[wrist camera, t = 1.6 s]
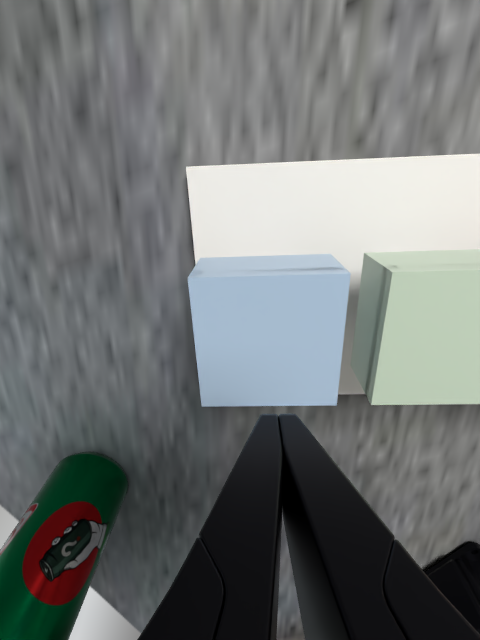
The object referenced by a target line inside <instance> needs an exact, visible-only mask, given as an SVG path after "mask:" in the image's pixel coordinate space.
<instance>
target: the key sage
mask: <svg viewBox="0 0 480 640" xmlns="http://www.w3.org/2000/svg"><path fill="white" fill-rule="evenodd" d="M351 367H352V369H353V371H354V373H355V375H356V377H357V379H358V381H359V383H360V385H361V387H362V388H363V390H364V392H365V394H366V396H367V398H368V400H369V402H370V404H371V405H428V404H480V249H470V250H437V251H405V252H372V253H364V257H363V265H362V273H361V282H360V290H359V298H358V307H357V315H356V323H355V331H354V340H353V348H352V356H351Z"/></svg>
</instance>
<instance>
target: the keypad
mask: <svg viewBox="0 0 480 640" xmlns="http://www.w3.org/2000/svg"><path fill="white" fill-rule="evenodd" d="M186 172H187V182H188V192H189V202H190V213H191V223H192V233H193V243H194V254H195V264H197V262H198V261H199V259H200V258H211V257H243V256H276V255H308V254H331V255H332V256H333V257H334V258H335V259H336V260H337V261H338V262H340V263H341V264H342V265H343V266H344V267H345V268H346V269H347V270H348V271H349V272H350V273H351V275H350V284H349V294H348V303H347V312H346V322H345V331H344V341H343V350H342V359H341V369H340V378H339V388H338V394H365V392H364V390H363V388H362V387H361V385H360V383H359V381H358V379H357V377H356V375H355V373H354V371H353V369H352V367H351V356H352V348H353V340H354V331H355V323H356V315H357V307H358V298H359V290H360V282H361V273H362V265H363V257H364V253H372V252H405V251H437V250H470V249H480V154H463V155H440V156H418V157H395V158H373V159H350V160H328V161H305V162H283V163H260V164H238V165H215V166H193V167H186Z"/></svg>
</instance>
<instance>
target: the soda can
mask: <svg viewBox="0 0 480 640" xmlns="http://www.w3.org/2000/svg"><path fill="white" fill-rule="evenodd" d="M127 490H128V481H127V478H126V476H125V473H124V471H123V470H122V468H121V467H120V465H119V464H118V463H117V462H116V461H114V460H113V459H111V458H109V457H108V456H105V455H103V454H99V453H94V452H82V453H78V454H74V455H71V456H68V457H66V458H64V459H63V460H62V461H60V462H59V464H58V465H57V466H56V468H55V469H54V471H53V472H52V474H51V475H50V477H49V478H48V480H47V481H46V483H45V484H44V486H43V487H42V488H41V490H40V491H39V493H38V494H37V496H36V497H35V499H34V500H33V502H32V503H31V505H30V506H29V508H28V509H27V511H26V512H25V514H24V515H23V517H22V518H21V520H20V521H19V523H18V524H17V526H16V527H15V529H14V530H13V532H12V533H11V535H10V536H9V538H8V539H7V541H6V542H5V543H4V545H3V547H2V548H1V549H0V640H68V639H69V636H70V634H71V632H72V629H73V627H74V624H75V621H76V619H77V616H78V614H79V611H80V609H81V606H82V604H83V601H84V599H85V596H86V594H87V591H88V588H89V586H90V584H91V581H92V579H93V576H94V574H95V571H96V568H97V566H98V563H99V561H100V558H101V556H102V553H103V551H104V548H105V546H106V543H107V541H108V538H109V536H110V533H111V531H112V528H113V526H114V523H115V520H116V518H117V515H118V513H119V510H120V508H121V505H122V503H123V500H124V498H125V495H126V493H127Z"/></svg>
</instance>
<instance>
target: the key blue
mask: <svg viewBox="0 0 480 640" xmlns="http://www.w3.org/2000/svg"><path fill="white" fill-rule="evenodd" d="M350 275H351V273H350V272H349V271H348V270H347V269H346V268H345V267H344V266H343V265H342V264H341V263H340V262H338V261H337V260H336V259H335V258H334V257H333V256H332V255H331V254H308V255H276V256H243V257H211V258H200V259H199V261H198V262H197V264H196V265H195V267H194V269H193V270H192V272H191V273H190V275H189V277H188V286H189V295H190V304H191V313H192V322H193V332H194V341H195V350H196V359H197V368H198V377H199V386H200V395H201V404H202V407H208V406H319V405H337V397H338V388H339V378H340V369H341V359H342V350H343V341H344V331H345V322H346V312H347V303H348V294H349V284H350Z"/></svg>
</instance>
